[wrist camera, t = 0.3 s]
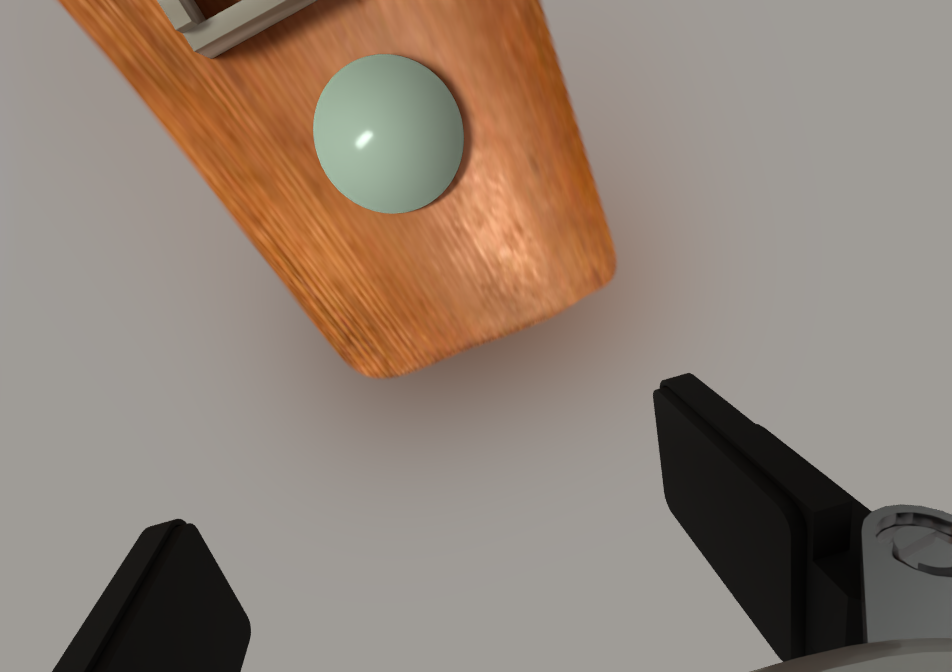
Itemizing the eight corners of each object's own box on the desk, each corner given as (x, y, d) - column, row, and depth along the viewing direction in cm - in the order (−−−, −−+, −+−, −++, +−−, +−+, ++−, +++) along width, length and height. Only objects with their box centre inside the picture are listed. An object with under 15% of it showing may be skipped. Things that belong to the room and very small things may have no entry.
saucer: (358, 22, 33) (357, 19, 32) (489, 112, 36) (491, 112, 35) (289, 163, 35) (287, 164, 34) (418, 237, 38) (418, 239, 37)
